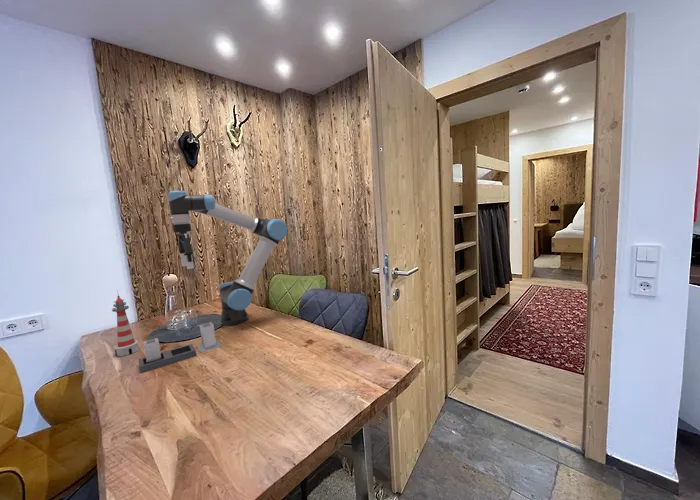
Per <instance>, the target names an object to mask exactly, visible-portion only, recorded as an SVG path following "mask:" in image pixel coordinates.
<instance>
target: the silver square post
mask: <svg viewBox="0 0 700 500" xmlns="http://www.w3.org/2000/svg"><path fill="white" fill-rule="evenodd" d="M143 349H144V354H145V357H146V362H147V364H148V363H152V362H155V361H158V360H161V353H162V352H161V347H160V341H159V338H158V337H156V338H151V339H148V340H145V341H143Z"/></svg>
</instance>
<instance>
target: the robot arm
mask: <svg viewBox="0 0 700 500" xmlns="http://www.w3.org/2000/svg"><path fill="white" fill-rule="evenodd" d="M167 194H168V203H169V209H170V215H171V217H169V219H170V220H171V222H172V224H173V225H172V231H173V233H177V240H178V252H179V256H180V262H181V267H186V269H187V270H190V269H191V270H193V269H194V268H195V267H194V265H195V264H194V261H193V260H194V259H193V254H194V252H193V248H192V243H191V240H190V234H189V233H187V232H192V225H191V217H190V211H191V212H192V211H193V212H195V213H199V214H203V215H206V216H209V217H212V218H215V219H218V220H220V221H223V222H226V223H229V224H232V225H235V226H237V227H240V228H244V229H246V230H248V231H250V233H253V234H255V235H256V236H258V238H259V239H258V240H259V241H257V244H256V246H255V248H254V250H253V251H252V254H251V255H250V257H249V259H248V261H247V263H246V264H245V266H244V268H243V270H242V271H241V274H240V275H239V277H238V278H237V279H235V280H233V281H227V282H223V283H220V284H219V289H218V290H219V297H220V304H221V314H220V317H219V318H220V319H219V324H220V323H222V324H223V325H222V326H234V325H238V324H242V323H244V322H246V321H248V320H249V314H248V312H247V310H246V309H247V308H249V306H250V305H251V303H252V300H253V296H252V295H253V293H254V292H255V284H256V281H257V280H258V278H259V276H260V274H261V273H262V271H263V268H264V266H265V265H266V264H267V263H266V262H267V260H268V259H269V257H270V255H271V253H272V251H273V249H274V247H275V248H276V247H278V246H279V244H280V242H281V241H282V240H283V239H285V238H286V236H287V234H288V227H287V224H286V223H285V221H284V220H281V219H278V218H272V219H270V218H269V219H266V218H265V219H264V218H260V217H258V216H257V217H256V216H255V217H253V216H250V215H247V214H245V213H243V212H239V211H237V210H234V209H231V208H229V207H226V206H223V205H220V204H218V203H216V201H215V197H214V195H212V194H192V195H191V194H187V192H186V191H185V190H170V191H169V192H168V193H167Z"/></svg>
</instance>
